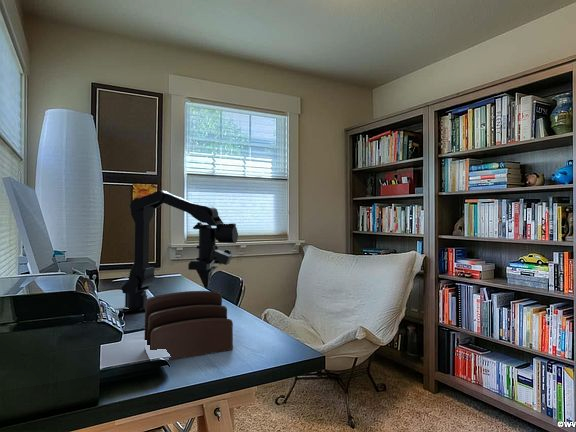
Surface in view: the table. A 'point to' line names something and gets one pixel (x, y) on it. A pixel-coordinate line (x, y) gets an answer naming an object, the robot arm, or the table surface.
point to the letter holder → (188, 324)
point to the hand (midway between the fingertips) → (206, 287)
